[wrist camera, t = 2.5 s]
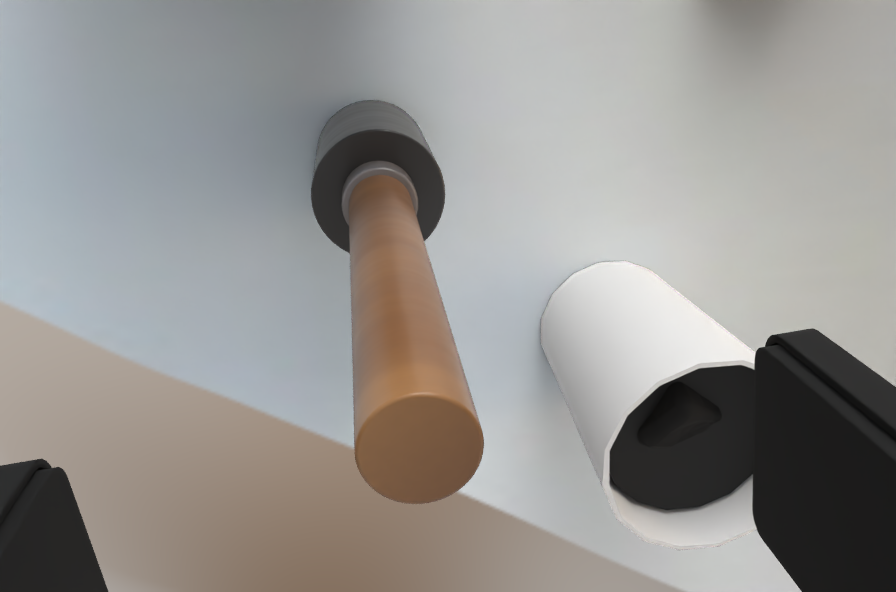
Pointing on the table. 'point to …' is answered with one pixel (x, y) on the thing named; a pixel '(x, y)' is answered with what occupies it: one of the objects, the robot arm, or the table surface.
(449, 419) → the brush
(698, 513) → the white tumbler
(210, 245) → the table surface
